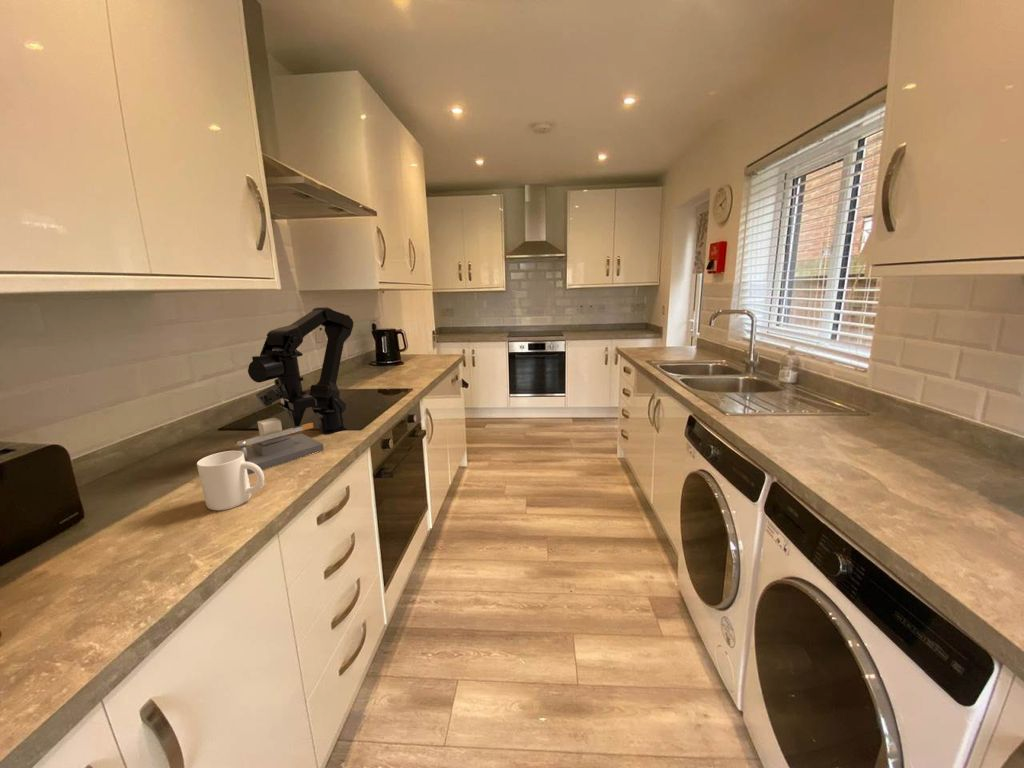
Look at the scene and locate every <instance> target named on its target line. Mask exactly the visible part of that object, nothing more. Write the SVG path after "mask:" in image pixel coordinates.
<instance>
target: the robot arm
mask: <svg viewBox="0 0 1024 768" xmlns="http://www.w3.org/2000/svg"><path fill="white" fill-rule="evenodd" d="M321 326H322V327H324V332H325V335H326V338H327V342H326V347H325V351H324V356H323V357H324V358H323V362H322V366H321V371H320V377H319V381H318V382H317V383H316V384H311V386H310V387H309V388H310V390H309V394H306V391H305V390H303V386H302V382H303V381H304V377H303V376H301V374H300V373H301V372H300V366H299V360H298V359H299V358H298V357H302V356H303V353H302V352H301V351H299V350H298V348H299V347H300V346H301V345H302V343H303V342H304V338H305V337H306V336H307V335H308V334H310V333H311V332H314V330H316V329H317V328H318V327H321ZM353 328H354V321H353V319H352V318H351V316H350V315H349V314H345V313H341V312H339V311H336V310H333V309H332V308H331V307H327V306H326V307H325V306H324V307H318V306H317V307H315V308H312V310H311V311H310V312H308V313H306V314H305V315H303V316H302V317H300V318H299V319H297V320H296V321H294V322H292V323H291V324H289V325H285V326H281V327H278V328H274V329H272V330H269V331H268V332H267V334H266V339H265V341H264V344H263V346H262V349H261V351H260V354H259V355H253V356H252V357H251V359H252V361H251V362H250V363H249V365H248V368H247V374H248V375H249V378H250V380H253V381H254V382H255V383H259V384H260V383H263V382H267V381H270V380H274V381H273V382H274V384H273V385H271V386H269V387H267V388H264V389H263V390H261V391H259V392H257V393H256V394H255V396H256V398H257V399H258V401H259V402H260V404H261V406H264V407H269V406H272V404H274V403H275V402H277V401H278V400H280V403H277V406H279V407H281V408H283V409H284V410H286V412H287V413H286V414H287V415H288V416H289V419H290V420H291V423H292V424H293V427H297V426H300V425H301V423H302V420H303V417H304V414H305V413H306V409H309V408H311V409H312V411H313V413H314V414H318V418H317V422H318V431H319V432H322V433H324V434H326V435H329V434H333V433H337V432H339V431H343V430H347V427H346V426H344V418H343V413H344V412H345V411H346V410H347V403H346V402H345V401H343V400H342V399H341V398H340V390H339V387H338V385H337V382H338V381H337V380H338V376H339V370H340V366H341V365H340V364H341V360H342V355H343V351H344V350H343V349H344V345H345V342H346V341H347V340H348V338H349V337H350V336H351V334H352V331H353Z"/></svg>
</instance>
